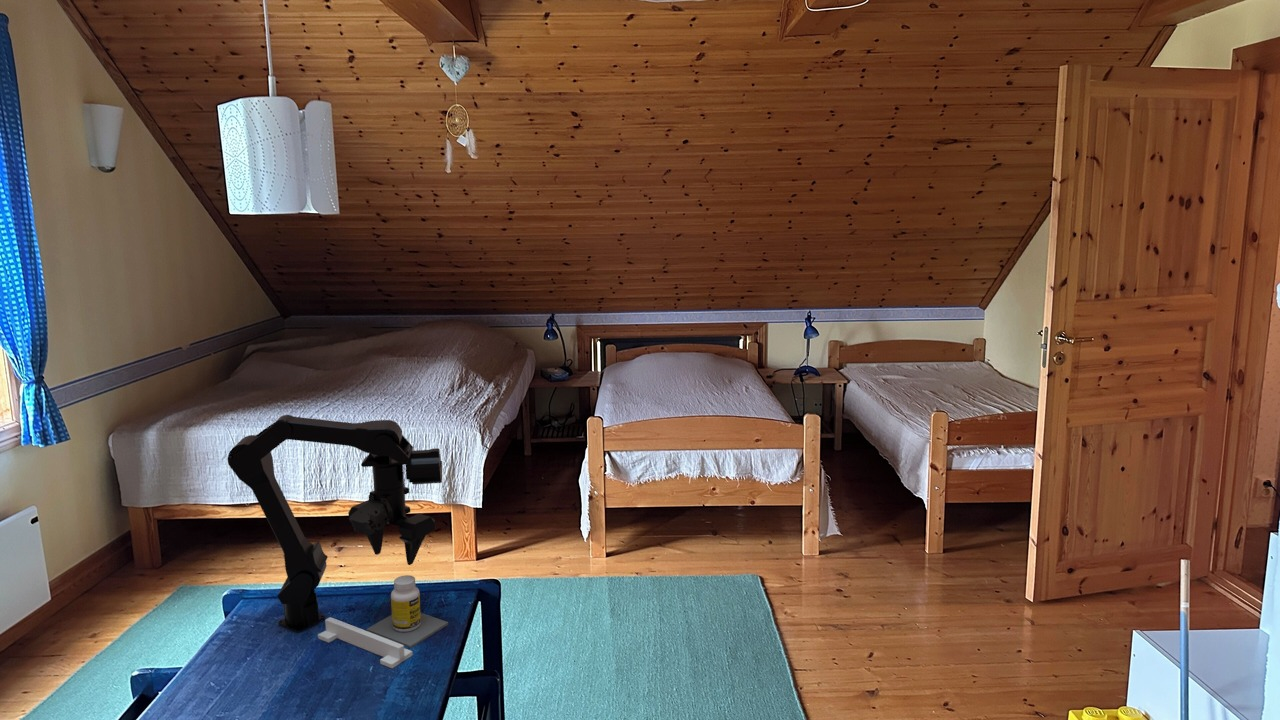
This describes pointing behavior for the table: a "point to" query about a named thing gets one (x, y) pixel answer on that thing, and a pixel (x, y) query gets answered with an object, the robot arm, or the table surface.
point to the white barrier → (366, 642)
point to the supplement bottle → (405, 604)
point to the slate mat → (411, 637)
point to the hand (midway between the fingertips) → (393, 559)
